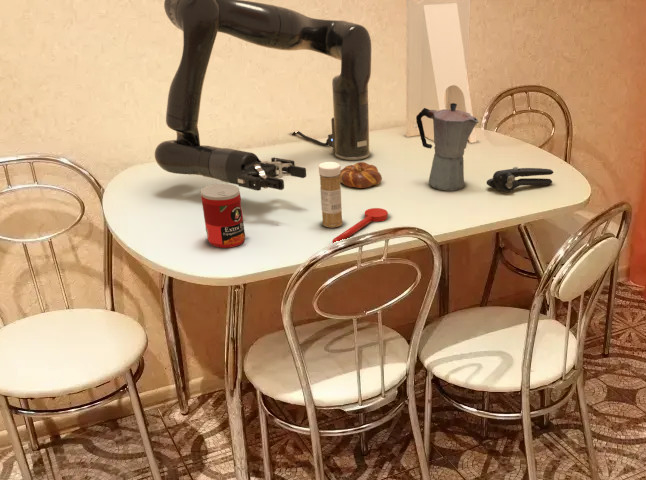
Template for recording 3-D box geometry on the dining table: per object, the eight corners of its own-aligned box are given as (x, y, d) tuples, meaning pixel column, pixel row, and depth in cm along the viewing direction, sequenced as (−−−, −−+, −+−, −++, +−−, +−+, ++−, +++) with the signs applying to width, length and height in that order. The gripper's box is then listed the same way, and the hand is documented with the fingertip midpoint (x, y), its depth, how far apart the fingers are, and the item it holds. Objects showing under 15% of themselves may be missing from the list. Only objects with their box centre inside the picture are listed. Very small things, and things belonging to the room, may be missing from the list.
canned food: (227, 251, 158) (220, 199, 152) (199, 242, 161) (191, 191, 155) (253, 239, 163) (248, 188, 157) (226, 230, 167) (219, 180, 160)
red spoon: (344, 248, 160) (344, 242, 160) (323, 243, 162) (323, 237, 161) (391, 215, 176) (391, 209, 175) (371, 211, 178) (371, 205, 177)
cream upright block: (431, 149, 217) (434, -10, 194) (406, 135, 227) (406, -17, 204) (489, 139, 225) (499, -14, 203) (463, 127, 235) (469, -20, 213)
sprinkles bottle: (339, 219, 173) (337, 160, 166) (345, 227, 170) (342, 166, 162) (319, 221, 172) (316, 162, 164) (324, 229, 168) (321, 168, 161)
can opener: (496, 197, 187) (498, 174, 184) (483, 187, 192) (485, 165, 189) (559, 188, 193) (562, 166, 190) (545, 179, 198) (547, 157, 195)
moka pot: (472, 194, 188) (476, 110, 177) (410, 188, 190) (411, 105, 179) (478, 181, 196) (483, 100, 184) (418, 176, 198) (420, 95, 187)
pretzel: (338, 173, 198) (337, 159, 196) (380, 173, 199) (380, 158, 197) (337, 190, 188) (336, 175, 186) (382, 189, 189) (382, 174, 187)
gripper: (212, 159, 168) (273, 171, 162) (252, 142, 178) (311, 153, 173) (216, 192, 172) (277, 205, 166) (255, 173, 183) (313, 185, 177)
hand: (294, 178), depth 169 cm, fingers open, 8 cm apart
